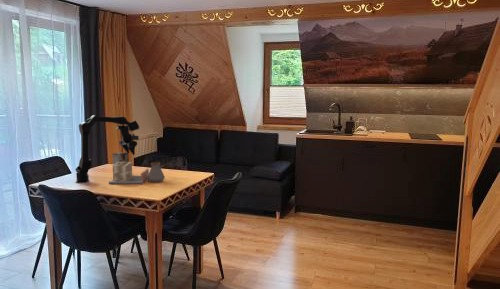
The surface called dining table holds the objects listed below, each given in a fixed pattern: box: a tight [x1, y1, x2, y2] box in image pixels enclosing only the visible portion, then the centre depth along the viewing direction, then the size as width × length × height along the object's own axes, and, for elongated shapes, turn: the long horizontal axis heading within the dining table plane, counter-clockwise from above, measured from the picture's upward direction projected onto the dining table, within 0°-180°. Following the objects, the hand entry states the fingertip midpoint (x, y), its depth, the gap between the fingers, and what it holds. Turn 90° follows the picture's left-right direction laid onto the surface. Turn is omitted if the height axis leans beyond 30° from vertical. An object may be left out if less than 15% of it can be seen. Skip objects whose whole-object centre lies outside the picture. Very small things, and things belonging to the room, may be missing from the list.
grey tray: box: [108, 168, 150, 185], centre depth 254 cm, size 22×18×7 cm
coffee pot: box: [147, 161, 172, 184], centre depth 250 cm, size 21×12×15 cm, turn 54°
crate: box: [112, 161, 133, 181], centre depth 254 cm, size 9×12×11 cm
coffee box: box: [112, 151, 130, 166], centre depth 273 cm, size 9×6×16 cm
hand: (131, 153), depth 273 cm, fingers open, 9 cm apart
